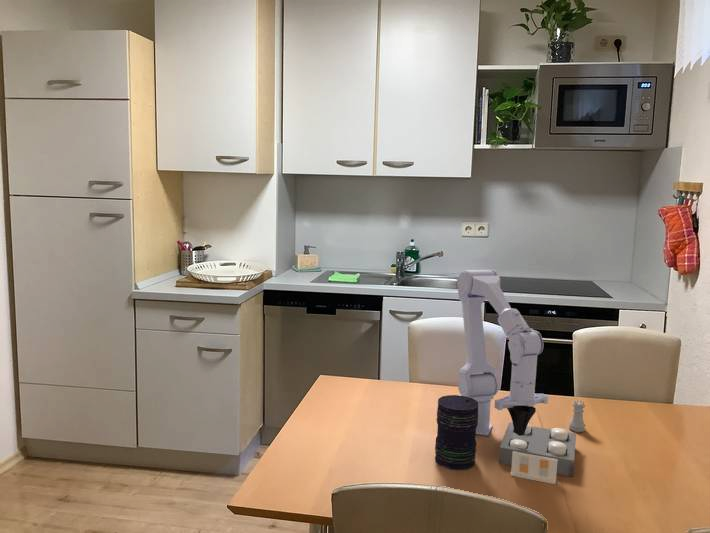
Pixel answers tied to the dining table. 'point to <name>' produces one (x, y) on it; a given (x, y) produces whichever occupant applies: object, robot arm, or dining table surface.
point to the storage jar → (456, 432)
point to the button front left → (518, 443)
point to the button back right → (559, 434)
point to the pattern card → (534, 467)
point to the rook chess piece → (577, 417)
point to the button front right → (557, 448)
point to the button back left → (528, 430)
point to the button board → (539, 448)
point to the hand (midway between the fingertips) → (519, 433)
